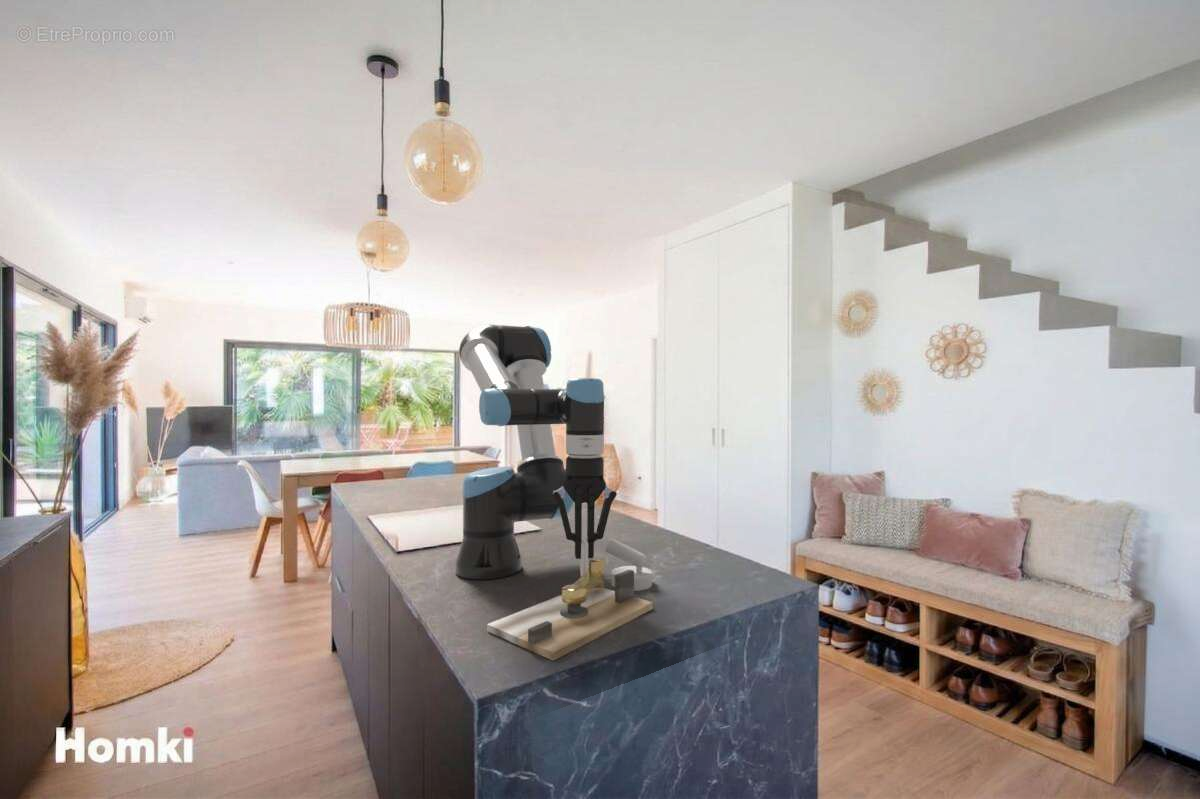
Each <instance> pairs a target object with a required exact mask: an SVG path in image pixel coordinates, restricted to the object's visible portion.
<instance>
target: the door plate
mask: <svg viewBox="0 0 1200 799" xmlns="http://www.w3.org/2000/svg"><path fill="white" fill-rule="evenodd" d="M653 609H654V602H653V601H649V600H646V599H642V598H640V597H636V596H635V591H634V571H633V570H627V571H624V572H622V573H619V574H617V575H615V587H614V590H611V589H610V588H609V589H608V588H605V587H602V588H594V589H593V590H592V591H591V592H590V593H588V594H587V595H586V601H585V602H584V603H581V604H566V603H563V602H562V594H560V595H557V596H555V597H552V598H550V599H548V600H545V601H543V602H539V603H536V604H535V605H532V606H529V607H528V608H525V609H522V610H519V611H517V612H515V613H512V614H510V615H506V616H504V617H502V618H500V619H496V620H494V621H491V622H489V623H487V624H486V625H487V626H486V628H487V629H486V631H487V632H488V633H491V634H492V635H495V636H497V637H500V638H501V639H504V640H506V641H508V642H510V643H512V644H515V645H517V646H519V647H521V648H524V649H527V650H529V651H531V652H532V653H535V654H537V655H539V656H542V657H544V658H546V659H548V660H551V661H556V660H557V659H559V658H561V657H563V656H566V655H568V654H569V653H571V652H573V651H575V650H576V649H579V648H580V647H582V645H583V646H584V645H587V644H588V643H590V642H593V641H594V640H596V639H598V638H599V637H600V638H601V636H603V635H605V634H607V633H609V632H611V631H613V630H615V629H617V628H619V627H621V626H623V625H625V624H627V623H629V622H631V621H632V620H634V619H636V618H638V617H640V616H642V615H643V614H646V613H648V612H650V611H651V610H653Z"/></svg>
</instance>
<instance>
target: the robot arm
mask: <svg viewBox="0 0 1200 799" xmlns="http://www.w3.org/2000/svg"><path fill="white" fill-rule="evenodd" d="M459 344H460V345H459V349H458V350H459V352H458V355H459V359H460V361H461V363H462V365H463V367H464V368H465V369H467V370H468V371H469V372H471V374H472V375H473V378H474V379H475V383H476V384H477V386H478V388H479V390H480V396H479V400H478V401H479V402H478V410H479V411H478V413H479V416H480V421H481V422H482V424H483V425H485V426H498V427H505V426H517V433H518V441H519V449H520V454H521V455H520V456H521V462H520V463H519V464H518V465H517V467H516V470H517V472H515V470H514V467H512V466H499V467H498V466H495V467H488V468H483V469H480V470H475V471H472V472H470V473H468V474H467V475H466V476H465V477H464V479H463V483H462V484H463V485H462V494H461V497H462V540H461V543H460V546H459V550H458V554H457V558H456V560H455V563H454V564H455V571H454V572H455V574H456V575H457V576H458V577H461V578H465V579H468V580H469V579H470V580H494V579H500V578H505V577H509V576H512V575H515V574H517V573H519V572H520V571H521V570H522V568H523V566H522V555H521V554H520V550H519V545H518V543H517V540H516V537H515V526H514V525H515V523H516V522H527V521H528V522H529V521H536V520H537V521H538V520H547V519H548V520H553V519H555V518H561V521H562V526H563V530H564V534H565V538H566V540H568V541H572V542H574V558H575V559H576V560H579V563H580V564H579V568H580V569H579V570H580V571H579V572H580V573H579V574H580V578H581V577H582V576H584V575H585V574H586V573H587V572H589V559H592V558H594V556H595V555H594V553H595V551H594V550H595V542H596V541H599V540H602V539H603V538H604V534H605V531H606V527H607V524H608V519H609V514H610V511H611V506H612V503H613V502H614V500H615V499H616V497H617V495H618V493H617V492H616V490H615V489H612V488H611V487H608V485H607V482H606V481H605V477H604V476H605V475H604V472H605V469H604V468H605V465H604V463H605V462H604V457H602V456H601V455H603V454H604V449H605V448H604V442H605V441H604V429H605V427H604V425H605V424H604V422H605V420H604V418H605V399H606V398H605V392H604V391H605V390H604V389H605V388H604V382H603V381H602V379H600V378H595V377H593V378H592V377H591V378H590V377H581V378H580V377H575V378H569V379H567V382H566V388H557V389H556V388H552V389H551V388H549V389H547V388H545V384H544V379H543V378H544V377H543V375H545V373H546V372H547V369H548V368H549V366H550V365H551V360H552V353H551V352H552V346H551V341H550V339H549V336H548V333H546V332H545V330H544V329H542V328H541V327H534V326H531V325H530V326H529V325H526V326H517V325H516V326H515V325H505V324H504V325H503V324H501V325H500V324H483V325H480V326H478V327H475V328H473V329H472V330H470V331H469V332H467V333H466V335H464V336H463V338H462V340H461V342H460V343H459ZM552 425H565V426H566V427H565V453H566V454H567V455H568V456H567V457H566V458H565V465H564V460H563V459H562V458H561V457H559V456H558V455H556V449H555V448H556V447H555V443H554V436H553V433H552V432H553V431H552ZM602 494H603V498H604V501H603V503H602V507H601V511H600V514H599V519H598V524H597V527H596V531H595V506H596V504H595V503H596V501H598V499H599V498H600V497H601V495H602ZM585 503H586V505H587V508H586V511H587V512H586V513H587V514H586V516H587V517H586V518H587V519H586V524H587V525H586V539H582V534H583V532H582V529H583V527H582V525H583V524H582V523H583V520H582V518H583V516H582V515H583V514H582V512H583V508H582V507H583V504H585ZM573 506H574V507H573ZM573 508H574V532H572V528H571V525H570V524H571V523H570V520H569V517H568V515H569V513H570V512H571V511H572V509H573Z"/></svg>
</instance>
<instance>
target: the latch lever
mask: <svg viewBox="0 0 1200 799" xmlns="http://www.w3.org/2000/svg"><path fill="white" fill-rule="evenodd" d="M594 588H605V559H604V558H601V557H593V558H589V559H588V572H587V573H586V574H585V575H584V576H582V577H581V576H580V577H579V579H577V580H576V581H575V582H574V583H572V584H567V585H563V587H561V595H562V602H563V603H566V604H581V603H584V602H585V601H586V595H587V594H588V593H590V592H591V591H592V590H593V589H594Z"/></svg>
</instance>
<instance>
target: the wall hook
mask: <svg viewBox="0 0 1200 799" xmlns="http://www.w3.org/2000/svg"><path fill="white" fill-rule="evenodd" d="M604 551H605V552H606V553H608V554H610V555H613V556H614V557H616V558H618V559H621V560H622V561H624V562H627V563H628V564H630V565H624V566H618V567H615V568H613V569H612V571H611V585H612V587H613V588H615V575H617V574H619V573H622V572H624V571H627V570H633V571H634V592H636V591H637V592H638V591H644V590H647V589H650V588H651V587H652V585H653V572H652V570H650V568H647V567H645V566H646V564H647V562H648V558H647V555H645V554H644V553H642V552H640V551H638V550H636V549H635V548H632V547H631V546H628V545H627V544H624V543H623V542H620V541H619V540H616V539H614V538H612V537H610V539H609V541H608V543H607V545H606V546H605V550H604Z"/></svg>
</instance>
